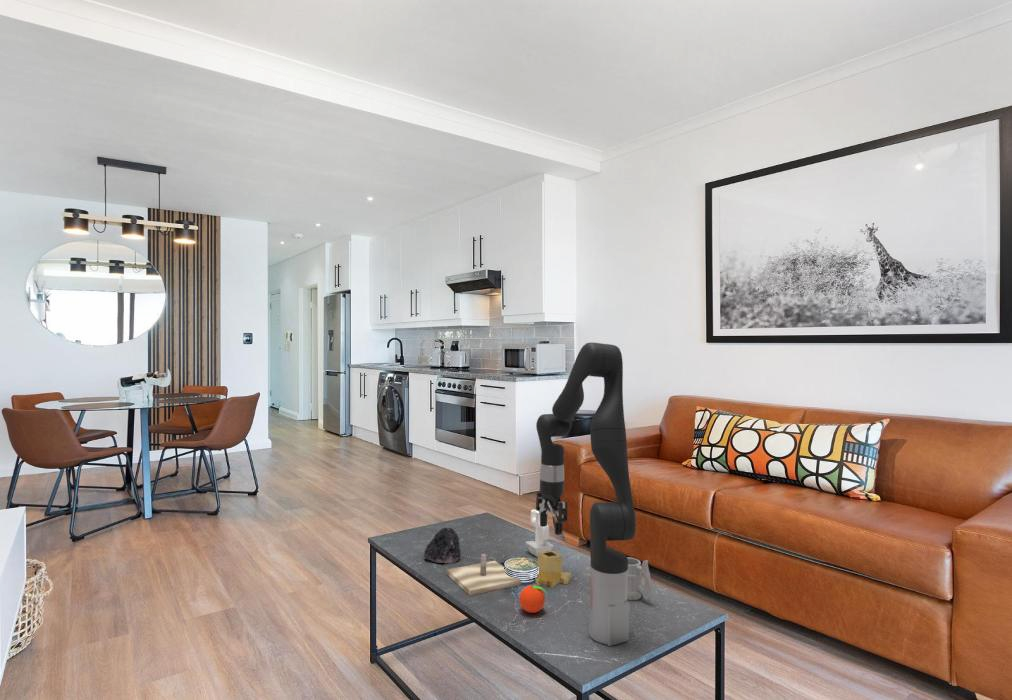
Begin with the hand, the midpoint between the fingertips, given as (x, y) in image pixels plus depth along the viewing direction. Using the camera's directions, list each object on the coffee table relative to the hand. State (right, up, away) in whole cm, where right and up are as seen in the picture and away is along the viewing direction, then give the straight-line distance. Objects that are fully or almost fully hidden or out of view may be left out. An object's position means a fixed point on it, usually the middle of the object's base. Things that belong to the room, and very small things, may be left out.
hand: (550, 530), depth 177 cm
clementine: (-6, -15, -23) cm, 28 cm away
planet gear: (0, -15, 0) cm, 15 cm away
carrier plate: (-21, -15, -2) cm, 26 cm away
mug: (+23, -16, -12) cm, 31 cm away
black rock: (-35, -14, +16) cm, 41 cm away
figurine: (-2, -15, +20) cm, 26 cm away
